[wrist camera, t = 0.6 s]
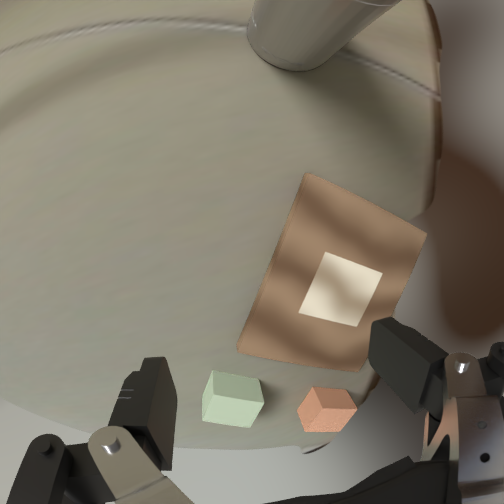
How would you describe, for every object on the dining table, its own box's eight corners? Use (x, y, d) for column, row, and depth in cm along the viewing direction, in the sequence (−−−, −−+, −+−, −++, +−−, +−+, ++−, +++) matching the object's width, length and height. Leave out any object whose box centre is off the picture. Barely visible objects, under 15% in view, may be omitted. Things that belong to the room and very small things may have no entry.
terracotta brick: (312, 386, 34) (322, 408, 30) (345, 389, 35) (357, 409, 31) (296, 409, 35) (304, 431, 31) (329, 411, 37) (339, 431, 32)
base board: (304, 173, 26) (310, 173, 25) (419, 231, 30) (427, 234, 28) (236, 344, 30) (237, 352, 29) (353, 365, 34) (358, 372, 33)
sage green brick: (212, 369, 31) (213, 394, 27) (258, 378, 32) (264, 402, 28) (202, 395, 32) (202, 420, 28) (245, 403, 33) (249, 427, 29)
